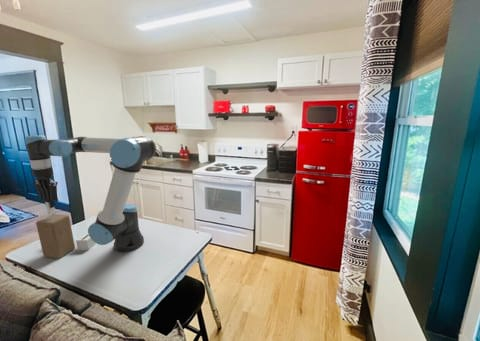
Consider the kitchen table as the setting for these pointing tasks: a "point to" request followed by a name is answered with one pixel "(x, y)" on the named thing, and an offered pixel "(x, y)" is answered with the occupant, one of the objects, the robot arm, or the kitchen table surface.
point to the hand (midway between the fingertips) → (51, 213)
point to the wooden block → (55, 235)
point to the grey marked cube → (85, 242)
